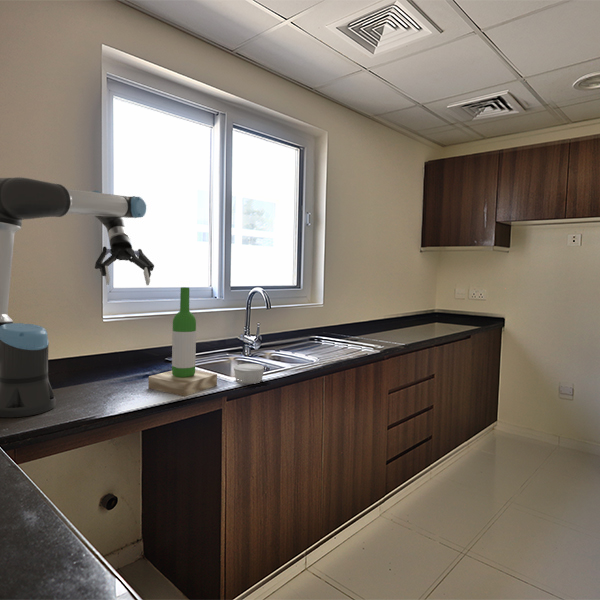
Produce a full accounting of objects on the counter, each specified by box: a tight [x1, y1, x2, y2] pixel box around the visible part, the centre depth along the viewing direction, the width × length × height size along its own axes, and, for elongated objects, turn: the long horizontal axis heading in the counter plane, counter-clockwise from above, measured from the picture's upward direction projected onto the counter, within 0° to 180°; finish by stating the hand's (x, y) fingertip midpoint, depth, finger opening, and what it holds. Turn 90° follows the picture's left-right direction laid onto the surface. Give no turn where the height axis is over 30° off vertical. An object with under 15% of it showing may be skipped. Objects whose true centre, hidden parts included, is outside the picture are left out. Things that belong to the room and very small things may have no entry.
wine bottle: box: [171, 286, 197, 377], centre depth 147 cm, size 8×8×30 cm
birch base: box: [148, 369, 218, 397], centre depth 148 cm, size 16×16×4 cm
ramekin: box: [233, 363, 265, 385], centre depth 160 cm, size 11×11×5 cm
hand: (128, 282), depth 154 cm, fingers open, 13 cm apart
